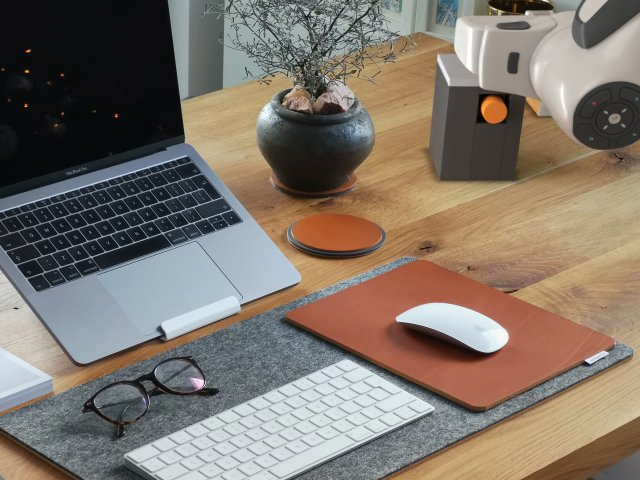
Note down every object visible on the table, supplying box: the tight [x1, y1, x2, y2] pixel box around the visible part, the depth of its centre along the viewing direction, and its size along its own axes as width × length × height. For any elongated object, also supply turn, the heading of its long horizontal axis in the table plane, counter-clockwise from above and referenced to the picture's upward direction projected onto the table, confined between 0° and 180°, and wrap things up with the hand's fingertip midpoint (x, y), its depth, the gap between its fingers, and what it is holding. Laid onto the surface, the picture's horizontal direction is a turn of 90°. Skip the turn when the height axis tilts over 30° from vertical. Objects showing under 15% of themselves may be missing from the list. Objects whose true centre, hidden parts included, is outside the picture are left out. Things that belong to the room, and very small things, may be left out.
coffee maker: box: [428, 53, 527, 181], centre depth 148 cm, size 10×10×14 cm
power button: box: [480, 94, 507, 124], centre depth 143 cm, size 3×3×3 cm
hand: (537, 17), depth 123 cm, fingers closed
